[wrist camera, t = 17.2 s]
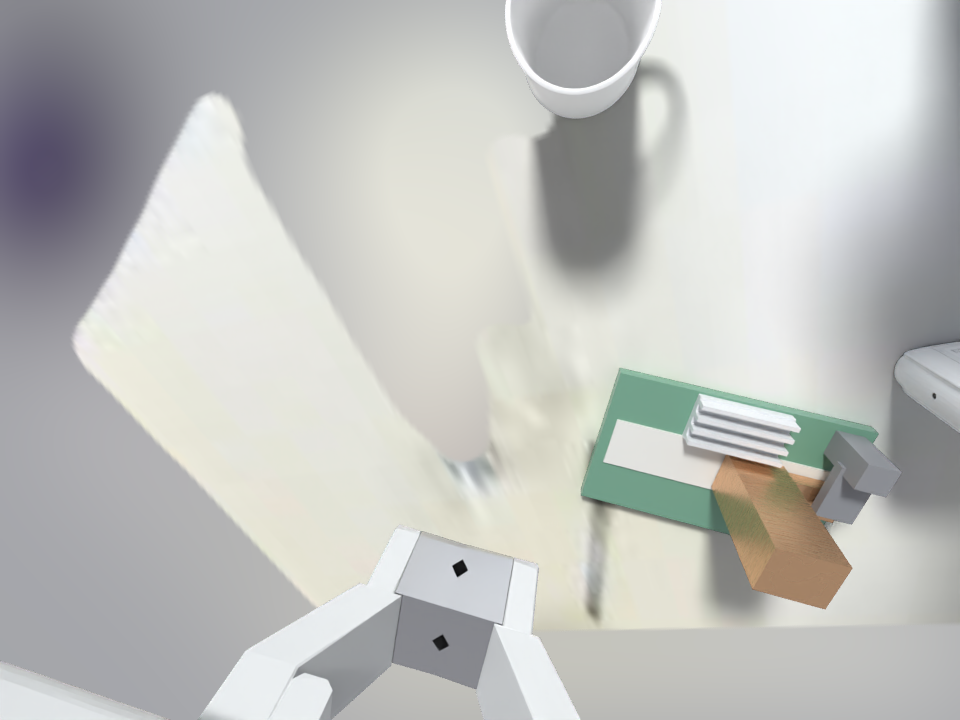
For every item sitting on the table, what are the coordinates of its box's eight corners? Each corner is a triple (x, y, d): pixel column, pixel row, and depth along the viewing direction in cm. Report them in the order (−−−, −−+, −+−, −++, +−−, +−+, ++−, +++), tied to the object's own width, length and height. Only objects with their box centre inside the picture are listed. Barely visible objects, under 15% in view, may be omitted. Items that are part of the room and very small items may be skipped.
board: (581, 488, 50) (581, 530, 44) (619, 367, 44) (625, 398, 39) (800, 545, 48) (831, 598, 42) (871, 426, 42) (917, 468, 36)
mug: (666, -69, 32) (709, -187, 22) (701, 63, 35) (757, 17, 24) (506, 24, 36) (474, -35, 25) (548, 138, 39) (535, 128, 28)
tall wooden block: (711, 487, 45) (752, 589, 35) (727, 452, 44) (775, 547, 33) (821, 515, 44) (900, 630, 33) (842, 480, 43) (932, 589, 32)
